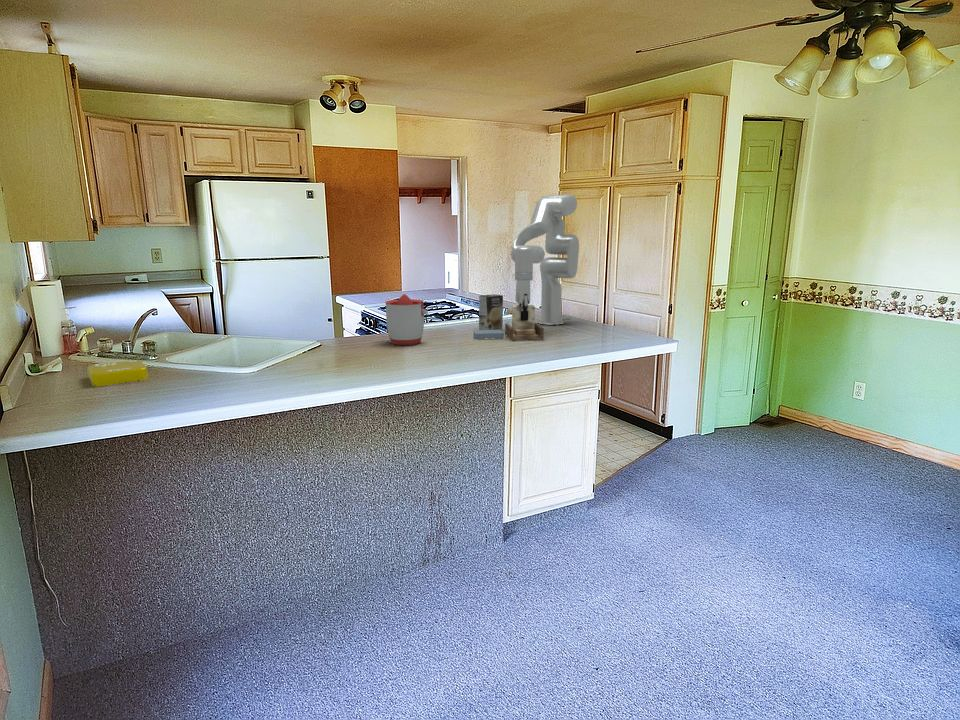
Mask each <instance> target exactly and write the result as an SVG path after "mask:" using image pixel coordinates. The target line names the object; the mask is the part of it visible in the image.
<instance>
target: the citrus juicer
mask: <svg viewBox="0 0 960 720" xmlns="http://www.w3.org/2000/svg"><path fill="white" fill-rule="evenodd" d="M384 303H385V316H386V318H385V320H386V329H387V330H386V331H387V333H388V336H389V337H388V338H389V340H390V342H391V344H393V345H395V344H396V345H395V346H399V345H401V346H402V345H403V346H415V345H416V344H419V343H421V341H422V338H423V334H424V328H425V327H424V326H425V315H426V316H429V315H430V314H429V311H428V309H425V307H424V305H425V303H424V300H420V299H411V298H410V297H409V296H408V294H405V293H403V294H402V295H401V296H400V297H399V299H391V300H386V301H385V302H384Z"/></svg>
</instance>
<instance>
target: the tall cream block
mask: <svg viewBox="0 0 960 720" xmlns="http://www.w3.org/2000/svg"><path fill="white" fill-rule="evenodd" d="M523 306H524V305H523ZM535 313H536V307H535V305H534V304H528V321H521V305H519V304H518V305H512V306H511V327H512V328H513V334H515V329H534V330H535V323H536V322H535V321H536V319H535V317H536V316H535V315H536V314H535Z"/></svg>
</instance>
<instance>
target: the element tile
mask: <svg viewBox="0 0 960 720" xmlns="http://www.w3.org/2000/svg"><path fill="white" fill-rule="evenodd" d="M87 373H88V378H89V381H91V382H90V384H91V386H92V387H93V386H102V387H105V386H104V385H109V386H111V385H110V384H116V385H118V384H117V383H124V382H131V381H138V380H144V379H147V378H148V379H149V375H148V374H149V373H148V367H147V366H146V365H145V364H144V362H143V361H142V360H140V359H133V360H124V361H117V362H107V363H104V362H101V363H96V364H92V365H89V366H87ZM148 379H147V380H148ZM144 381H145V380H144ZM138 382H139V381H138ZM131 383H132V382H131ZM124 384H125V383H124Z"/></svg>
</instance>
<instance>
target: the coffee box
mask: <svg viewBox="0 0 960 720" xmlns="http://www.w3.org/2000/svg"><path fill="white" fill-rule="evenodd" d="M478 298H479V300H478V301H479V302H478V316H479V317H478V330H502V331H503V325H504V324H503V319H504V316H503V315H504V314H503V313H504V312H503V311H504V307H503V306H504V295H503V294H502V295H501V294H494V293H493V294H482V295H479V296H478Z"/></svg>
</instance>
